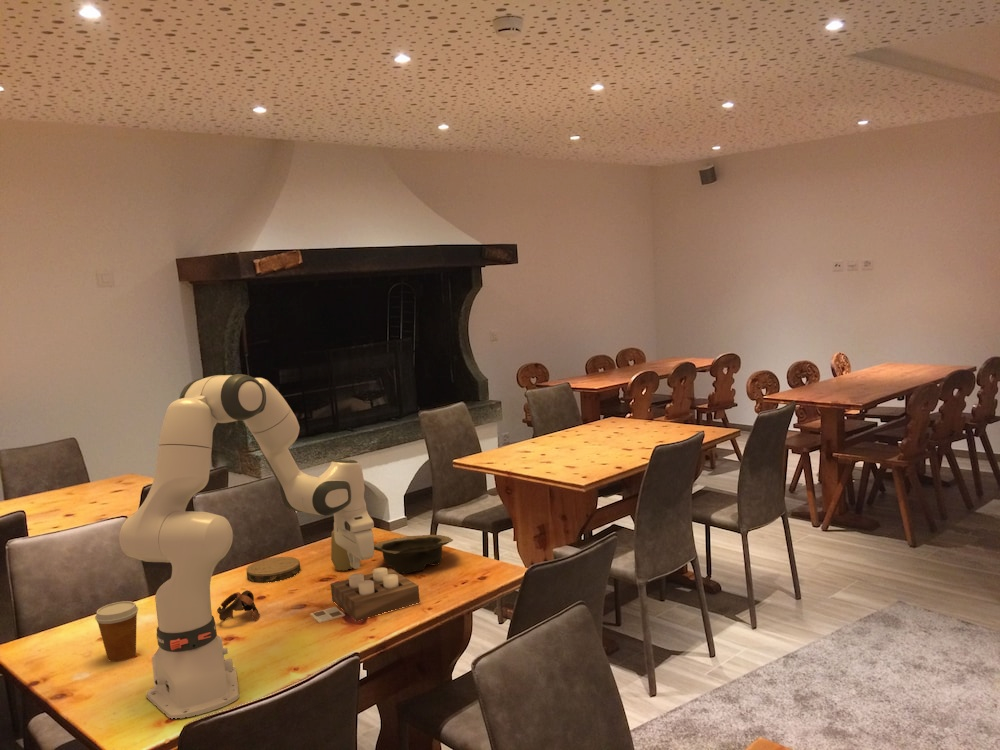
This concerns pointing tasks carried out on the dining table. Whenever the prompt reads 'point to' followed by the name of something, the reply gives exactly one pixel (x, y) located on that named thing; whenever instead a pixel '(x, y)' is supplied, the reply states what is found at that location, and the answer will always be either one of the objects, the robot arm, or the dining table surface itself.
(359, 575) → the egg
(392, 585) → the button front outer
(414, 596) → the button board
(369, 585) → the button front inner
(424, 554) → the stone bowl
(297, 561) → the brown wooden disc
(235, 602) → the pottery mug
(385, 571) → the beige egg
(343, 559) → the squeeze bottle
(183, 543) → the robot arm
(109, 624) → the disposable coffee cup
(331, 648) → the dining table surface
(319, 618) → the tile
